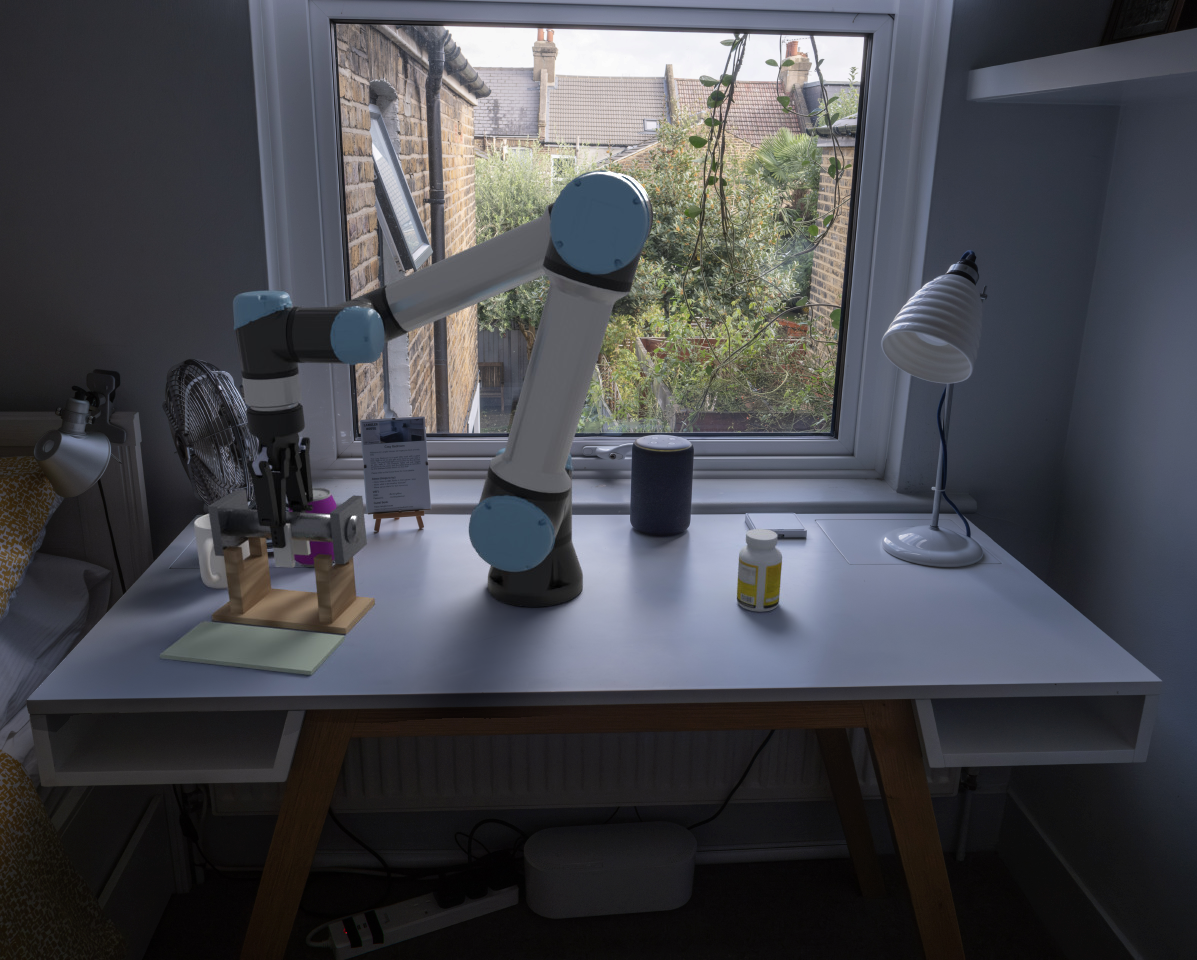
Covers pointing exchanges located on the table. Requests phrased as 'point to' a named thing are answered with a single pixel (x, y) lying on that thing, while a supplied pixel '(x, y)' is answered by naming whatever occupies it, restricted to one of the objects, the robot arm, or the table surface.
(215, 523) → the rod
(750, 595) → the pill bottle
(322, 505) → the beverage can
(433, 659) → the table surface
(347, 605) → the cradle
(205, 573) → the mug
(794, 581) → the table surface
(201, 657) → the mat
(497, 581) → the robot arm
